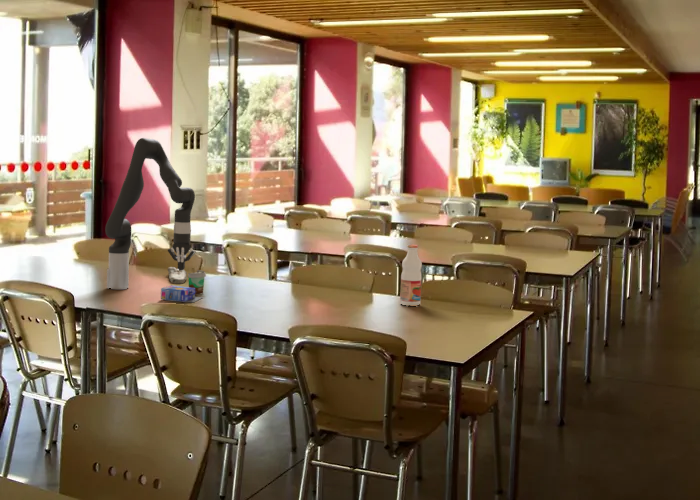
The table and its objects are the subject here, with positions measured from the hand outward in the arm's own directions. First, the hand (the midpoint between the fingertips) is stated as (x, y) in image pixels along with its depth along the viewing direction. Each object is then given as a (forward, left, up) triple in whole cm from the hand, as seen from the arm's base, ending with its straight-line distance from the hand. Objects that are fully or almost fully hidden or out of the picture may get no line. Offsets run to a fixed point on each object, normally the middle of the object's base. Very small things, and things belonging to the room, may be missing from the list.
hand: (181, 270), depth 407 cm
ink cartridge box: (-7, 0, -10) cm, 12 cm away
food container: (+1, +20, -14) cm, 24 cm away
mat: (+2, +1, -13) cm, 14 cm away
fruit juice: (+101, +26, -14) cm, 106 cm away
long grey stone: (-23, +57, -14) cm, 63 cm away
